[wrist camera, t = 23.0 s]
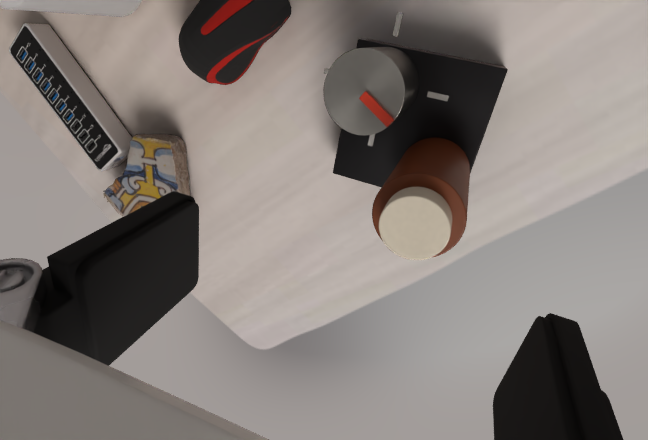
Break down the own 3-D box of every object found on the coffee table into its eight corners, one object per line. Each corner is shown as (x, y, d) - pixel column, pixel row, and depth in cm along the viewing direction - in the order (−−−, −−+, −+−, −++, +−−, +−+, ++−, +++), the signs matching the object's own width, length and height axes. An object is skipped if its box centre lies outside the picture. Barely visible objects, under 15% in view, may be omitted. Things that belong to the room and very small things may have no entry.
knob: (338, 85, 29) (305, 95, 23) (384, 30, 26) (359, 27, 21) (384, 132, 29) (362, 153, 24) (434, 82, 27) (422, 92, 21)
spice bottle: (409, 129, 28) (377, 170, 19) (480, 147, 27) (480, 198, 18) (392, 192, 31) (356, 254, 22) (457, 211, 30) (447, 285, 21)
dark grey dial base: (348, 4, 29) (335, 1, 27) (516, 35, 27) (520, 34, 24) (322, 157, 35) (309, 167, 32) (459, 195, 32) (457, 210, 29)
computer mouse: (307, 10, 30) (285, 6, 27) (221, 97, 36) (194, 103, 32) (257, -62, 30) (228, -76, 26) (177, 38, 35) (144, 37, 32)
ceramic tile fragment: (123, 110, 36) (209, 174, 36) (149, 104, 39) (229, 164, 38) (98, 204, 42) (171, 260, 42) (122, 194, 45) (191, 246, 45)
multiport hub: (47, 22, 39) (24, 20, 37) (138, 146, 41) (121, 151, 39) (29, 50, 41) (6, 50, 39) (117, 167, 43) (99, 173, 41)
